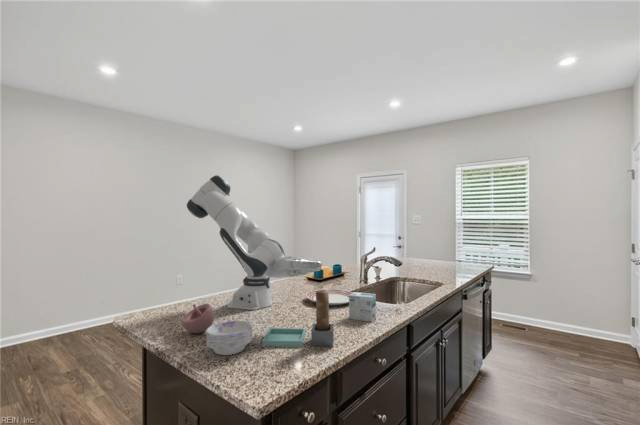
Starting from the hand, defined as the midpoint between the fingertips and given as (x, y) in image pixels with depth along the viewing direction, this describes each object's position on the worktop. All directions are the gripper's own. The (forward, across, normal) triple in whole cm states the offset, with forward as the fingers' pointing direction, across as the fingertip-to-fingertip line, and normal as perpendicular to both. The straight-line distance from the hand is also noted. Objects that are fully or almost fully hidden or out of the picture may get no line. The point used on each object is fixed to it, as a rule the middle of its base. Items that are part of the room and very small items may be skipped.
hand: (311, 264), depth 124 cm
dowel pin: (+6, 0, +28) cm, 29 cm away
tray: (-6, -8, +28) cm, 30 cm away
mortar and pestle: (-36, -28, +26) cm, 53 cm away
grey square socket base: (+6, 0, +29) cm, 29 cm away
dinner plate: (-30, +40, +16) cm, 53 cm away
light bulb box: (-1, +31, +23) cm, 38 cm away
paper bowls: (-13, -26, +30) cm, 42 cm away
